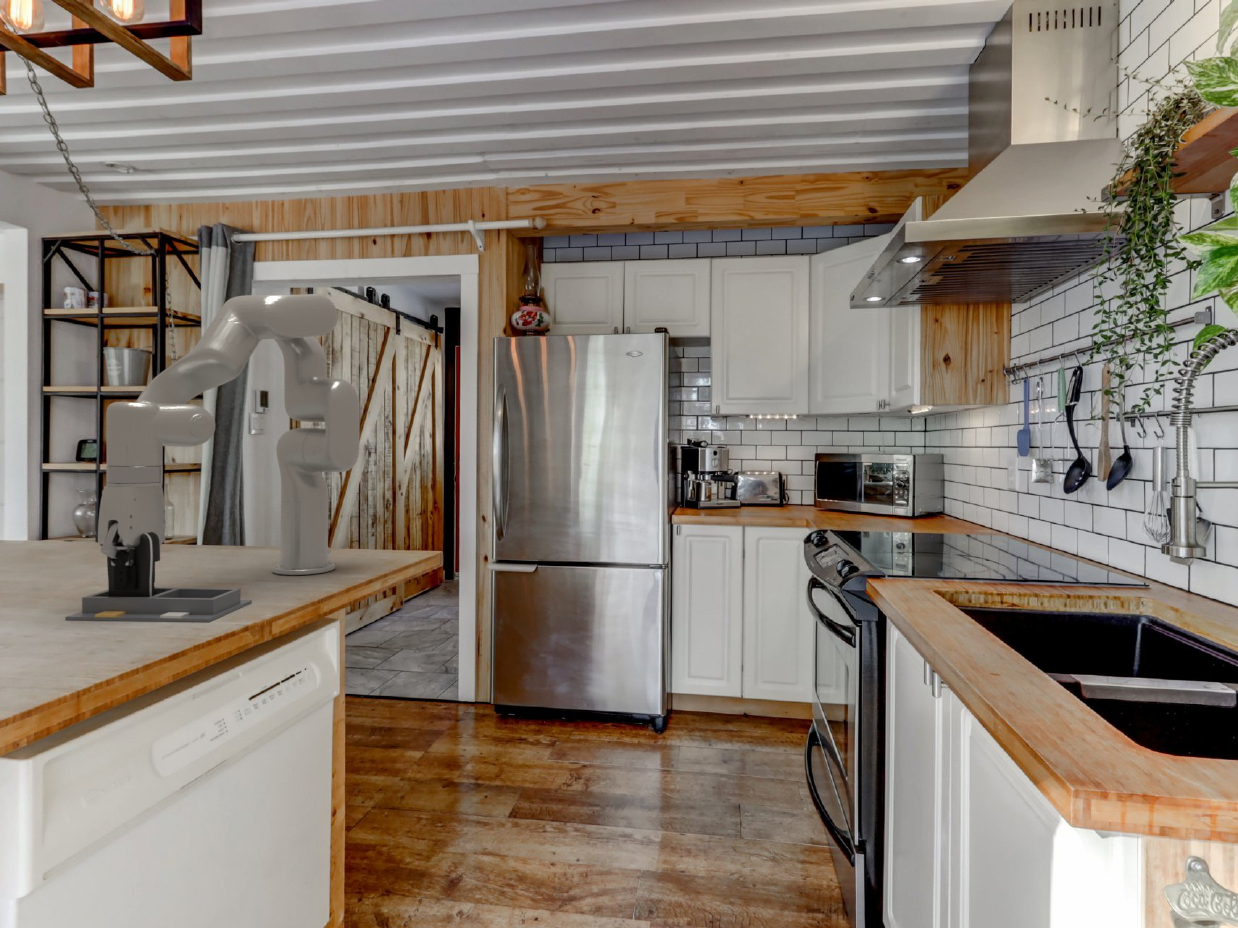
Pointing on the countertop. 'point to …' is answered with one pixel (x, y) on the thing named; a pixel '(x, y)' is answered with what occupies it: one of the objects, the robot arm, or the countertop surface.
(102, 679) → the countertop surface
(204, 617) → the dock
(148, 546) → the battery charger
